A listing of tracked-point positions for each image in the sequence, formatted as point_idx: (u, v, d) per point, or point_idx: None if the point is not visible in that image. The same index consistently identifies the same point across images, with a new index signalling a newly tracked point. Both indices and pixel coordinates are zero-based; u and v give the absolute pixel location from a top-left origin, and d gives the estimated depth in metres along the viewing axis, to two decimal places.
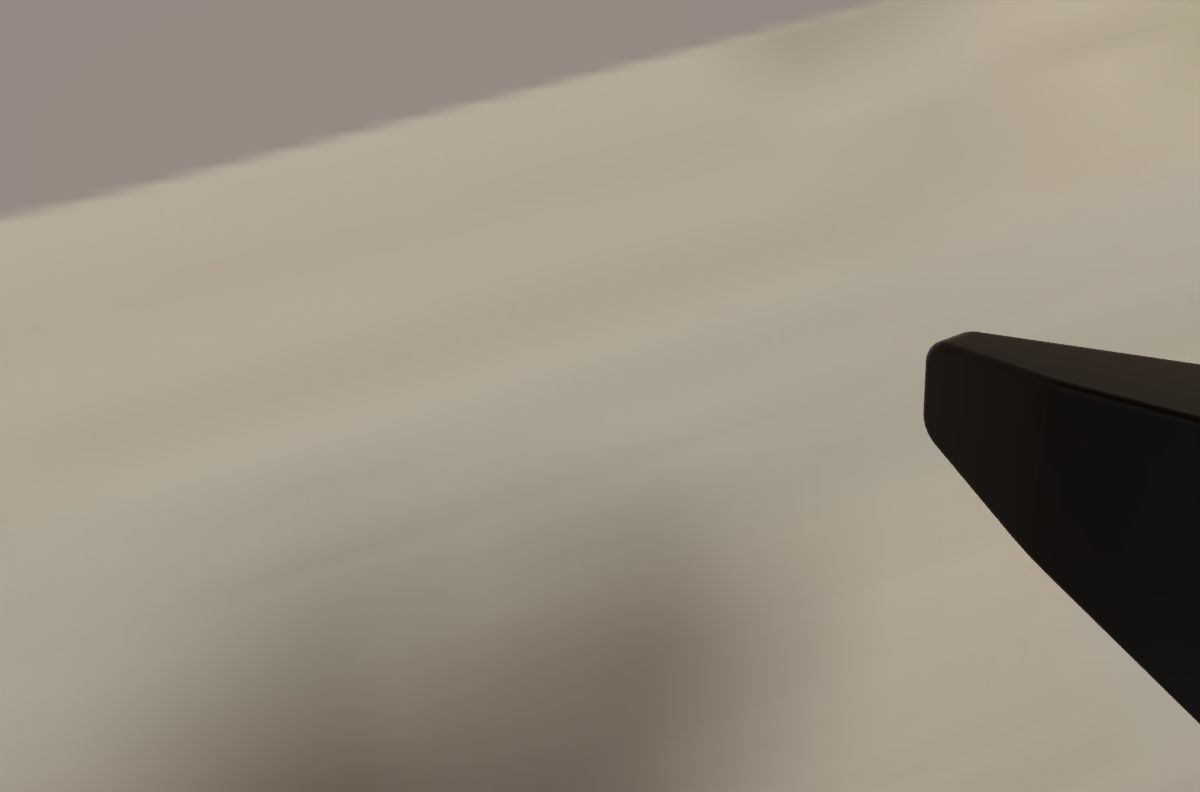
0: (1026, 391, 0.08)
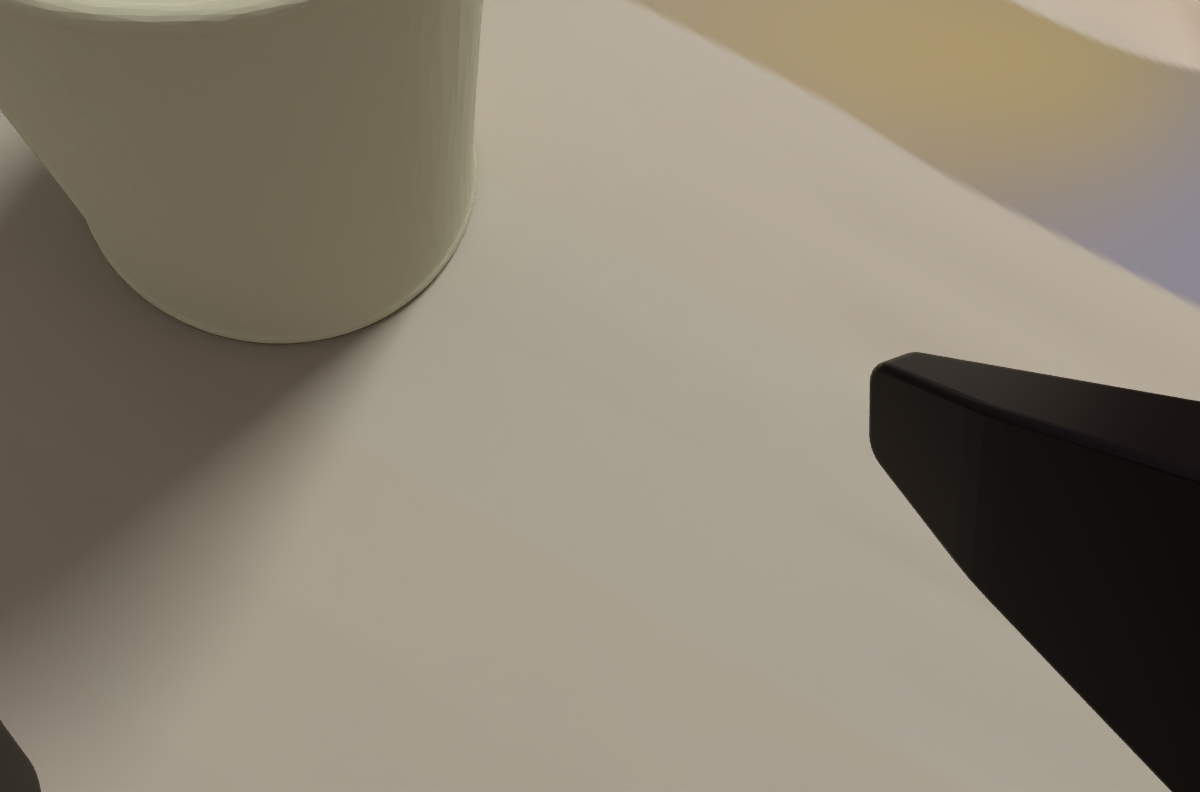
0: (963, 416, 0.08)
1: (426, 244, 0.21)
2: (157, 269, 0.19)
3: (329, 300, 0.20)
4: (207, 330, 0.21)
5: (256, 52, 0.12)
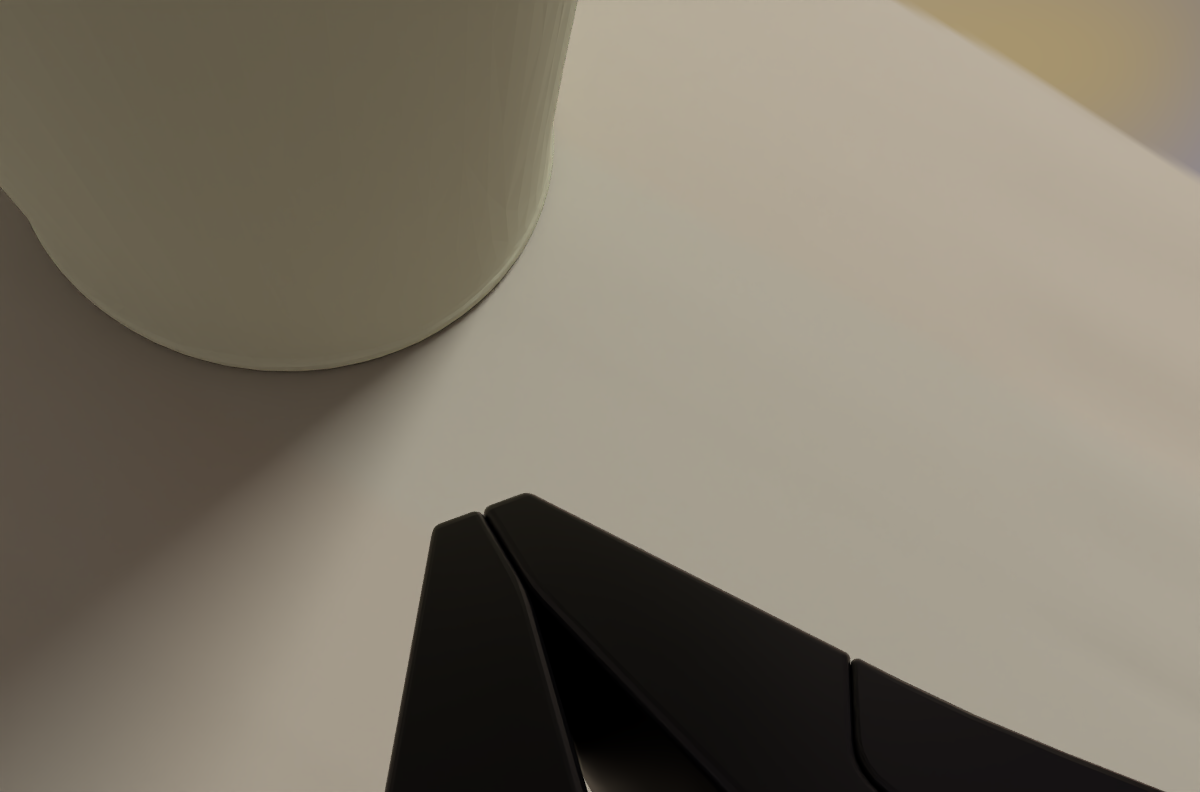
0: (525, 588, 0.07)
1: (494, 234, 0.15)
2: (107, 265, 0.13)
3: (357, 311, 0.14)
4: (185, 353, 0.15)
5: None
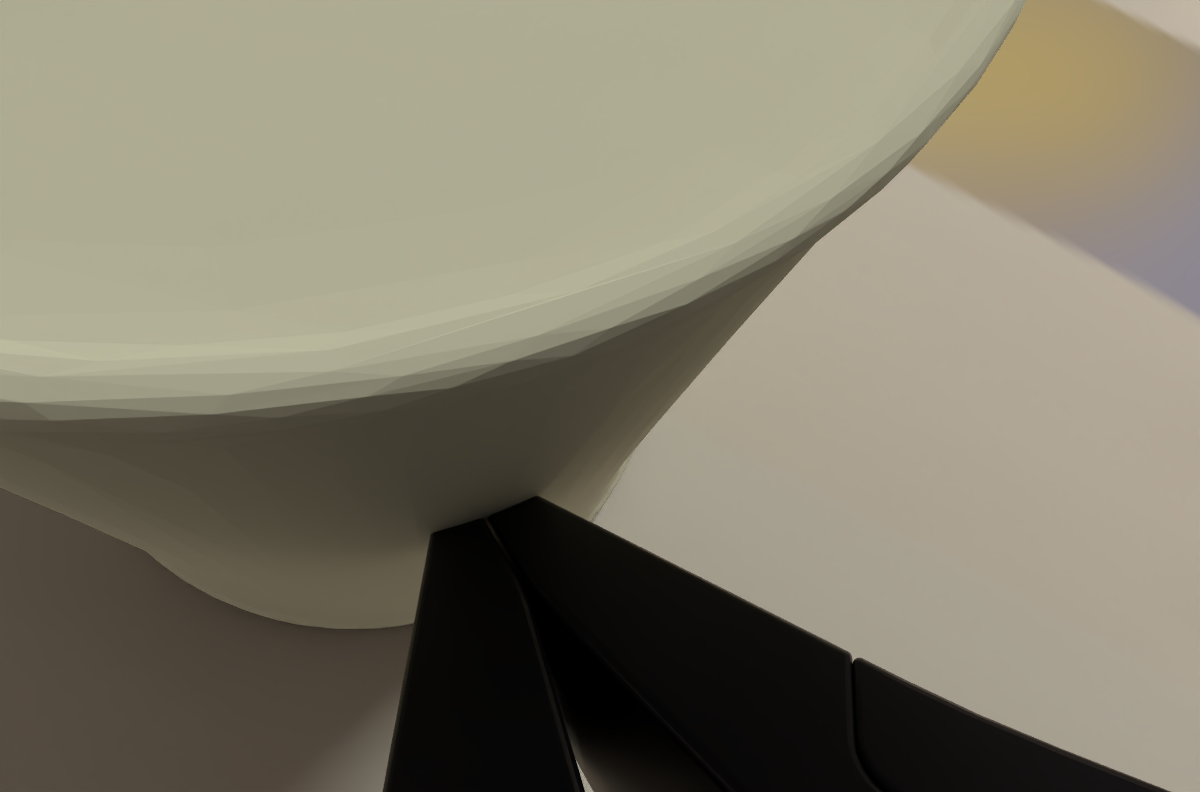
0: (526, 587, 0.07)
1: (608, 482, 0.13)
2: (188, 571, 0.11)
3: None
4: (261, 615, 0.14)
5: (502, 411, 0.04)
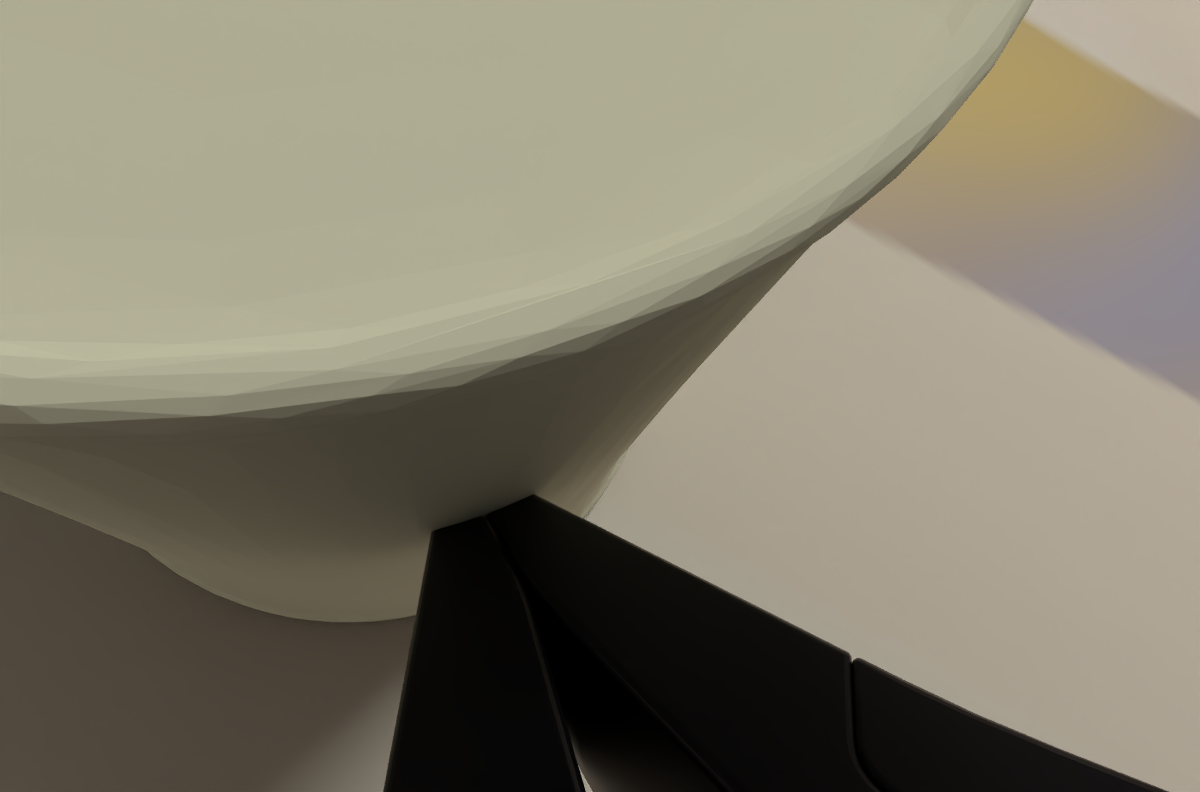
0: (526, 587, 0.07)
1: None
2: (184, 566, 0.11)
3: None
4: (258, 609, 0.13)
5: (511, 407, 0.04)
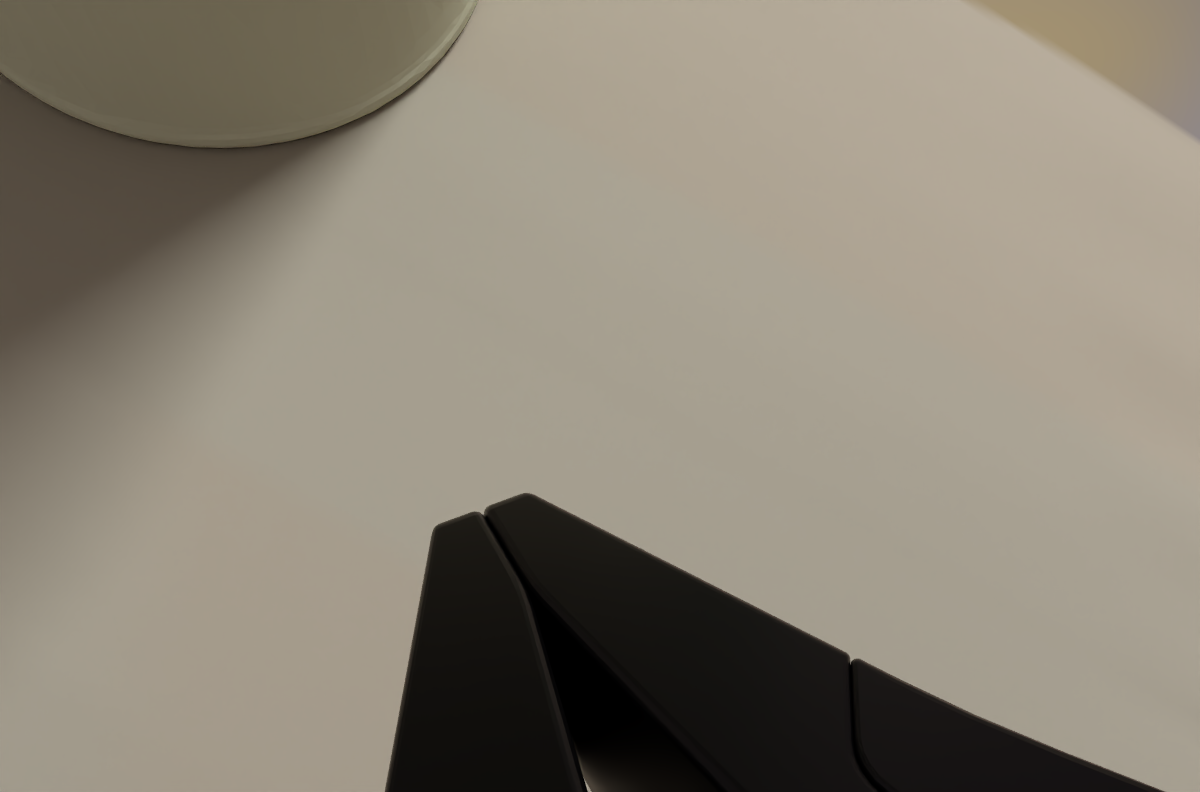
0: (525, 588, 0.07)
1: None
2: None
3: (279, 60, 0.13)
4: (103, 124, 0.14)
5: None
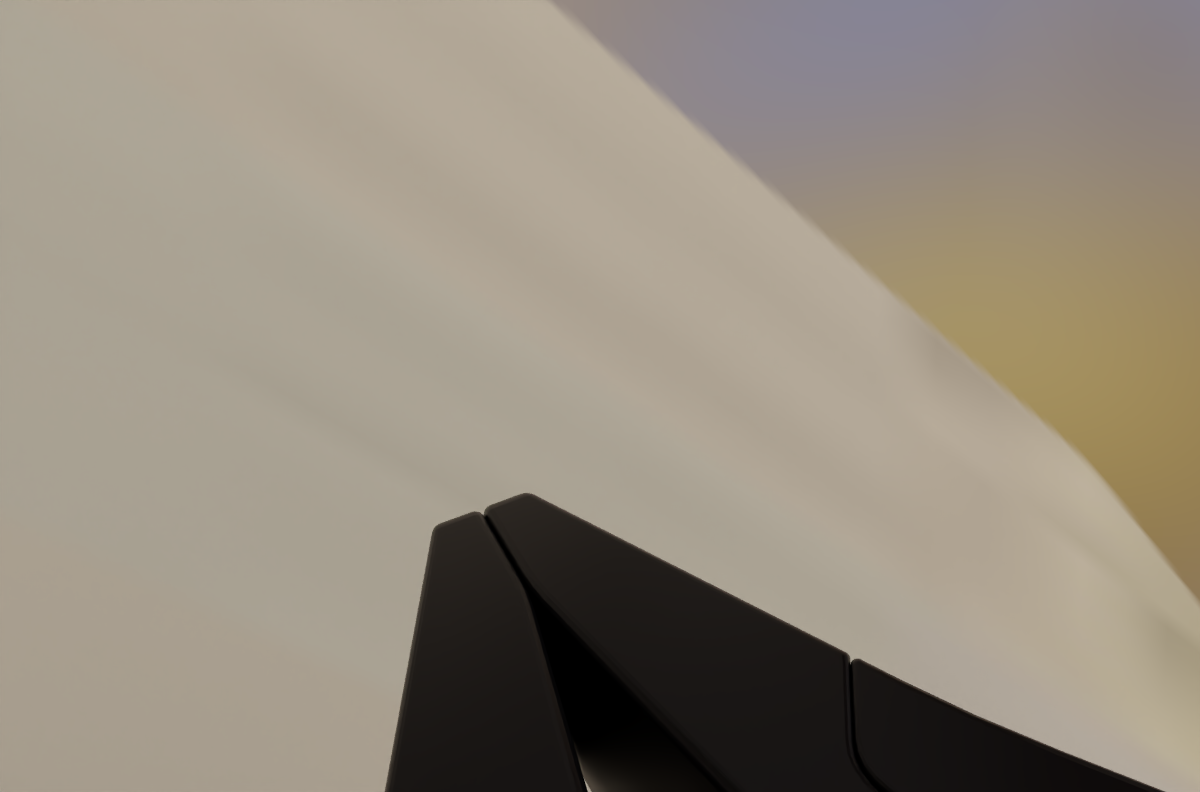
0: (525, 587, 0.07)
1: None
2: None
3: None
4: None
5: None
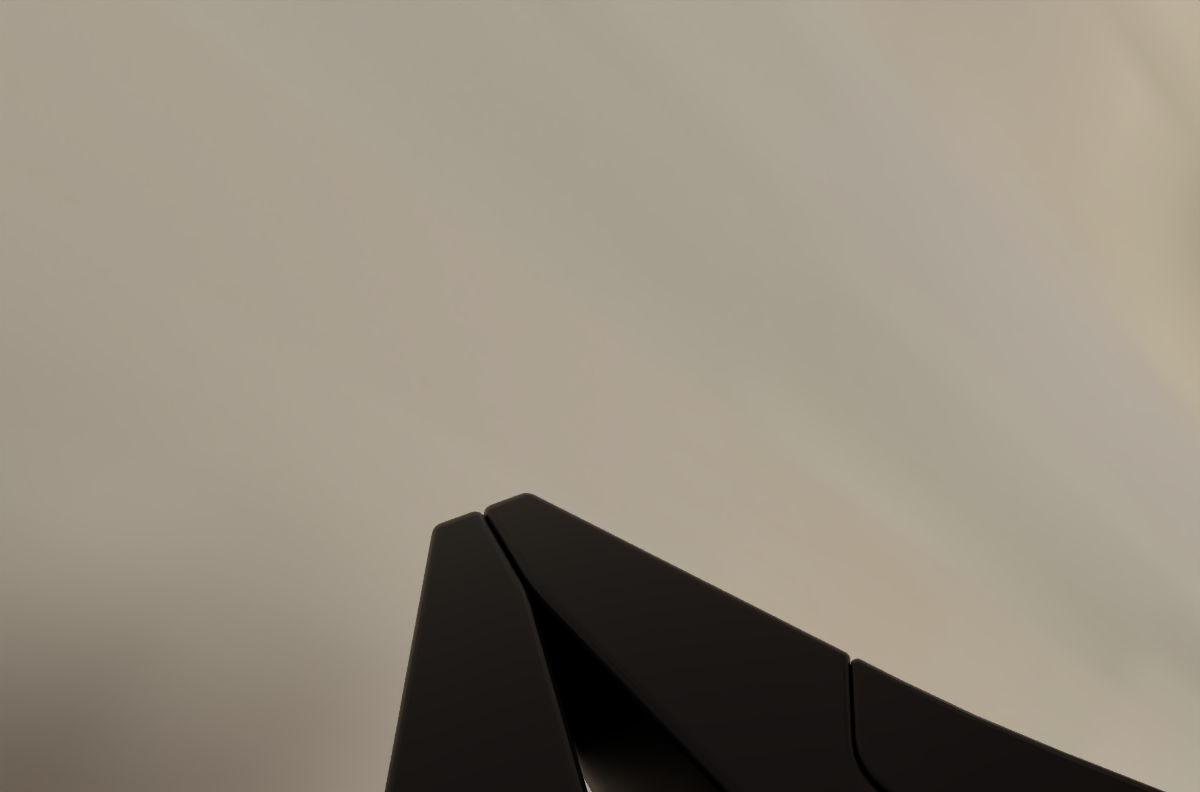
0: (524, 587, 0.07)
1: None
2: None
3: None
4: None
5: None
